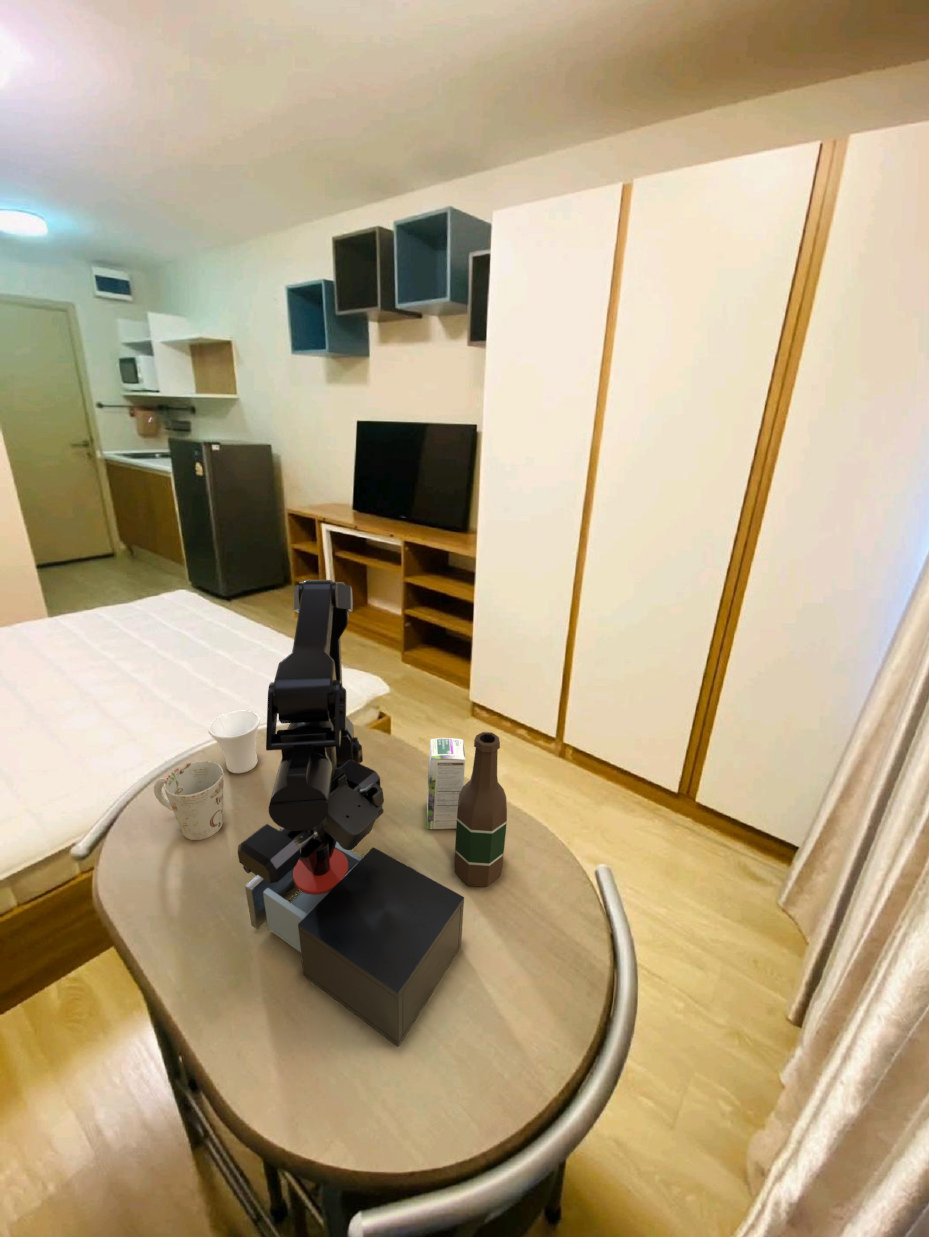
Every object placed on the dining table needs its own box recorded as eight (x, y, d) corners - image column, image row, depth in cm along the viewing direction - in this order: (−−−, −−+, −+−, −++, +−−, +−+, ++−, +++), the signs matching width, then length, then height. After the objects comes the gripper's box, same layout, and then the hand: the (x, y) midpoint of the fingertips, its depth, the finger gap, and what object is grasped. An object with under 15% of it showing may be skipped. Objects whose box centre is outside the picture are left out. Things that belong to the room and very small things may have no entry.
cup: (246, 745, 105) (240, 702, 101) (275, 763, 100) (270, 720, 97) (204, 767, 99) (196, 722, 95) (232, 788, 94) (225, 742, 90)
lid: (320, 843, 73) (318, 814, 71) (359, 865, 70) (358, 836, 68) (281, 878, 67) (277, 849, 65) (321, 904, 64) (318, 874, 62)
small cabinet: (303, 975, 64) (297, 924, 60) (374, 894, 75) (373, 846, 71) (398, 1047, 57) (398, 994, 54) (461, 946, 68) (464, 897, 65)
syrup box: (426, 805, 92) (428, 737, 86) (459, 805, 92) (463, 737, 87) (427, 830, 87) (428, 759, 81) (462, 829, 87) (466, 758, 82)
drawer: (226, 907, 71) (219, 868, 68) (296, 847, 81) (292, 811, 78) (326, 981, 63) (322, 939, 60) (390, 904, 73) (389, 865, 70)
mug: (209, 850, 81) (199, 800, 77) (139, 835, 83) (126, 785, 79) (241, 813, 88) (233, 765, 84) (176, 800, 90) (166, 752, 87)
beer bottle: (510, 858, 82) (523, 731, 73) (491, 897, 75) (503, 762, 66) (465, 841, 85) (473, 716, 76) (443, 876, 78) (449, 744, 69)
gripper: (301, 847, 51) (311, 955, 57) (413, 749, 66) (412, 843, 72) (226, 803, 56) (243, 906, 62) (346, 721, 71) (350, 811, 77)
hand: (320, 863), depth 68 cm, fingers closed on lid, 2 cm apart
